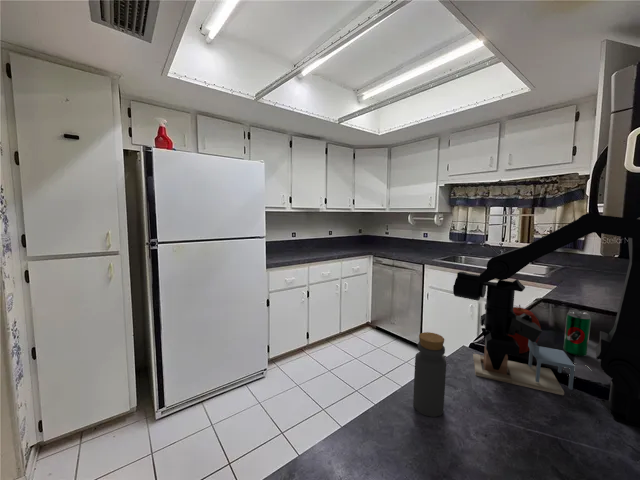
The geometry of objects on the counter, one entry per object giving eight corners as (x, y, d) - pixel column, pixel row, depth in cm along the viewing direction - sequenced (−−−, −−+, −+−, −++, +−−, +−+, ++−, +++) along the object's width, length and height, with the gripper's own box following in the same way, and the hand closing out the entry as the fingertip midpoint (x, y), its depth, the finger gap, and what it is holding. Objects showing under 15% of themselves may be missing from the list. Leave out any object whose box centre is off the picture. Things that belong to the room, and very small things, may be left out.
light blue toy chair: (572, 389, 62) (576, 355, 61) (532, 381, 65) (535, 348, 64) (560, 371, 69) (563, 340, 68) (525, 364, 72) (528, 335, 71)
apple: (536, 364, 74) (541, 313, 73) (492, 351, 81) (496, 304, 80) (539, 350, 82) (544, 304, 81) (499, 339, 89) (503, 296, 87)
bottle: (407, 401, 59) (410, 333, 58) (429, 395, 61) (432, 329, 60) (426, 420, 54) (430, 345, 52) (450, 413, 56) (454, 341, 54)
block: (506, 376, 68) (507, 356, 68) (485, 371, 70) (486, 352, 70) (503, 367, 72) (505, 348, 72) (483, 363, 74) (484, 345, 74)
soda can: (591, 358, 78) (596, 316, 77) (570, 356, 79) (574, 314, 78) (578, 349, 83) (583, 310, 81) (559, 347, 84) (563, 308, 82)
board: (563, 396, 62) (564, 391, 61) (475, 375, 69) (475, 372, 69) (550, 372, 70) (550, 368, 70) (473, 357, 78) (473, 353, 78)
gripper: (551, 324, 58) (544, 395, 59) (530, 299, 75) (525, 355, 76) (489, 315, 63) (484, 381, 64) (482, 293, 79) (478, 346, 81)
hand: (494, 364), depth 71 cm, fingers closed on block, 4 cm apart
